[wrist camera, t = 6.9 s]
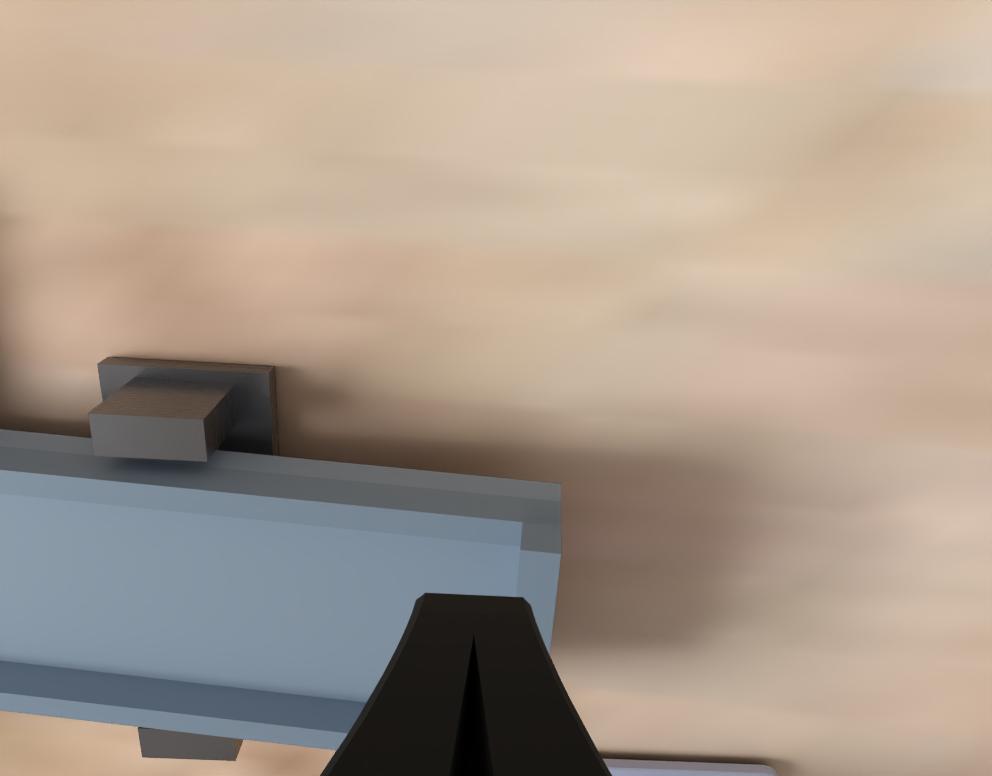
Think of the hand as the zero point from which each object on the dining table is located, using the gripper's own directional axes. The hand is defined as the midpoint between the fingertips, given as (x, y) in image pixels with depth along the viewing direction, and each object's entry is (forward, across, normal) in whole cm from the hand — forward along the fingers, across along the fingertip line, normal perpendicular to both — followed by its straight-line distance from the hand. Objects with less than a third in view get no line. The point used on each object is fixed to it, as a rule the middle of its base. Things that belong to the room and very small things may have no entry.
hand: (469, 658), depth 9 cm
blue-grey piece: (+9, +7, +2) cm, 11 cm away
